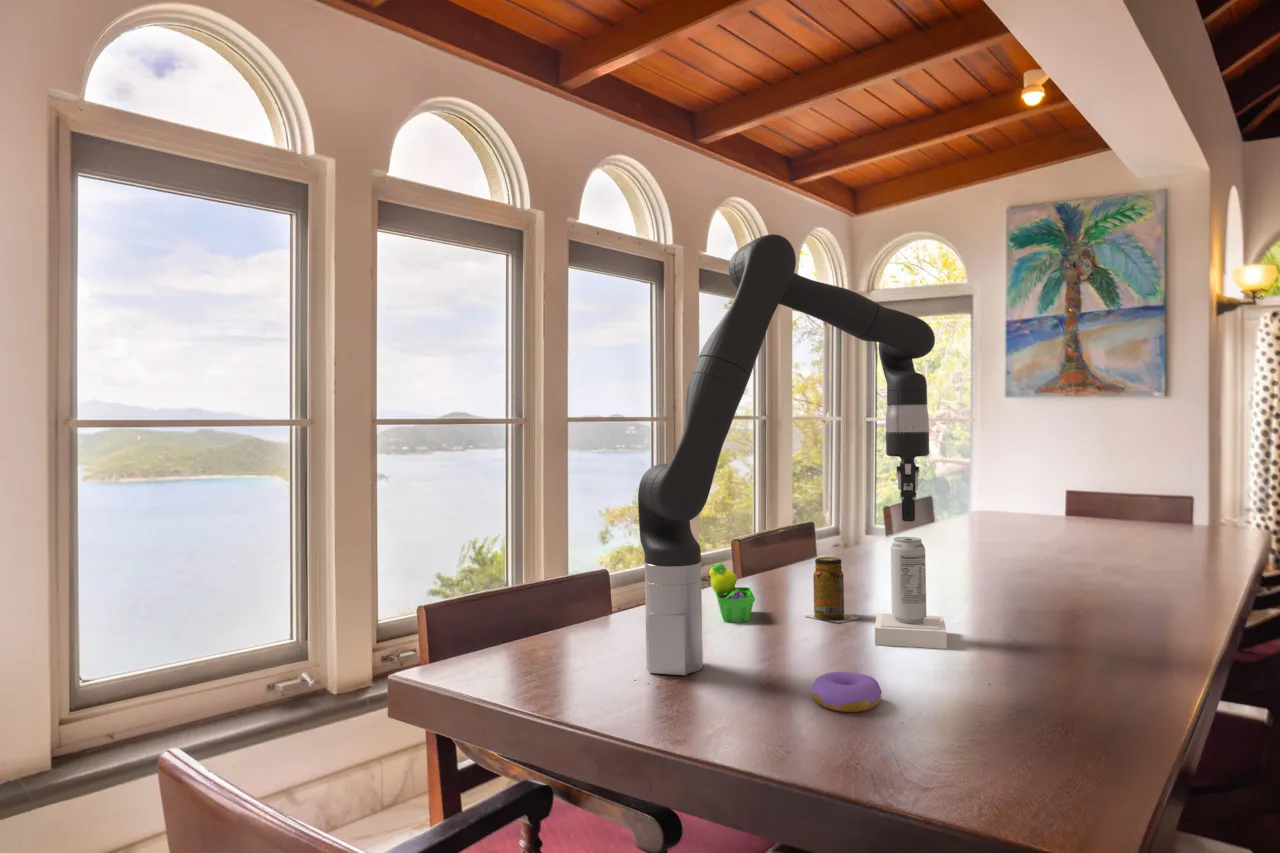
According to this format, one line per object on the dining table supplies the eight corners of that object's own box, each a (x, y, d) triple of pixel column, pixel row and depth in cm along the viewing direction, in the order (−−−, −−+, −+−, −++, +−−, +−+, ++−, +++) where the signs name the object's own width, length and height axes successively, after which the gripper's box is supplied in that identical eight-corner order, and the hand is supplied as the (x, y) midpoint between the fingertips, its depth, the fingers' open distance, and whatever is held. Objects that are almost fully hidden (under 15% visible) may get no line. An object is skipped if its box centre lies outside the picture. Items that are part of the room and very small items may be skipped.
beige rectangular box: (946, 648, 144) (946, 630, 144) (875, 644, 148) (874, 626, 148) (943, 632, 156) (943, 615, 156) (876, 629, 159) (876, 612, 159)
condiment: (826, 611, 175) (825, 554, 175) (860, 618, 169) (859, 559, 169) (804, 617, 171) (803, 558, 171) (838, 624, 164) (836, 563, 164)
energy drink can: (919, 616, 155) (917, 536, 155) (931, 624, 149) (930, 540, 149) (887, 617, 155) (885, 536, 155) (898, 625, 149) (896, 541, 149)
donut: (829, 685, 124) (835, 655, 124) (888, 711, 118) (894, 679, 118) (797, 703, 117) (802, 671, 116) (857, 731, 111) (864, 697, 110)
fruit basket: (756, 623, 166) (755, 566, 166) (712, 623, 166) (711, 567, 166) (750, 610, 177) (749, 558, 177) (708, 611, 178) (707, 558, 178)
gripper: (930, 430, 144) (931, 523, 144) (927, 430, 158) (928, 515, 157) (885, 430, 146) (886, 522, 146) (886, 430, 160) (887, 514, 160)
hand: (908, 518), depth 152 cm, fingers open, 8 cm apart
